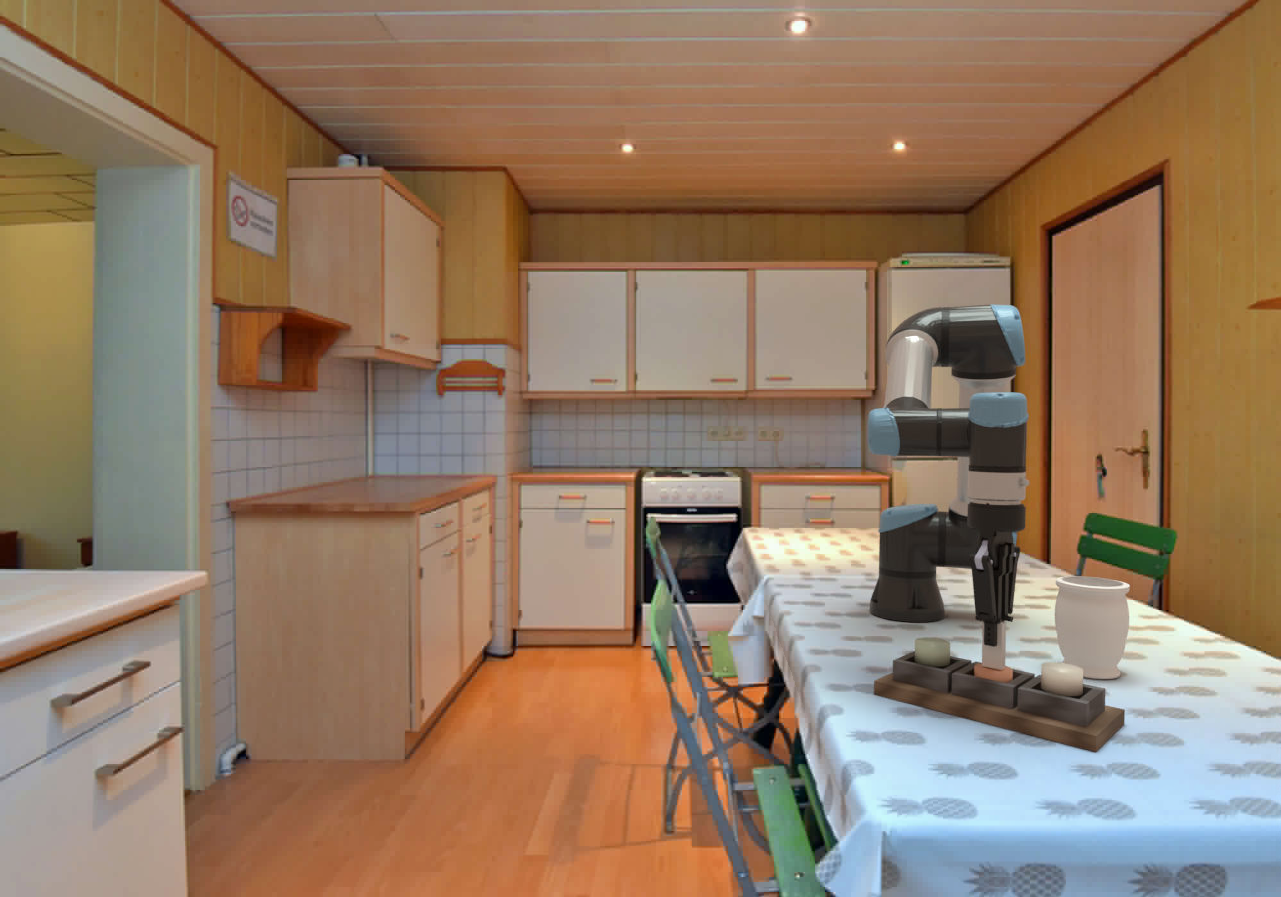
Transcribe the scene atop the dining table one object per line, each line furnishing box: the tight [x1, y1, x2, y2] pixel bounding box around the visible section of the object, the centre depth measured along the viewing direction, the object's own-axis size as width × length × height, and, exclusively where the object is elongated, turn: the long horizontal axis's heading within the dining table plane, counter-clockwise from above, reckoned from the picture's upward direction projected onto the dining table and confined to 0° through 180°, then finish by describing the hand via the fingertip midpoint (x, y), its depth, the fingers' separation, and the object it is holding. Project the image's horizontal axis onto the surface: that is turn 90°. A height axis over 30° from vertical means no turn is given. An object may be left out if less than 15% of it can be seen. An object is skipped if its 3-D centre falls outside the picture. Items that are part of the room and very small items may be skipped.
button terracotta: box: [974, 662, 1013, 683], centre depth 114 cm, size 5×5×3 cm
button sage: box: [914, 637, 951, 667], centre depth 121 cm, size 5×5×3 cm
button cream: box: [1040, 661, 1084, 696], centre depth 108 cm, size 5×5×3 cm
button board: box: [873, 650, 1126, 753], centre depth 114 cm, size 30×13×5 cm, turn 46°
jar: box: [1054, 575, 1131, 680], centre depth 131 cm, size 11×10×15 cm
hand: (993, 666), depth 114 cm, fingers closed
